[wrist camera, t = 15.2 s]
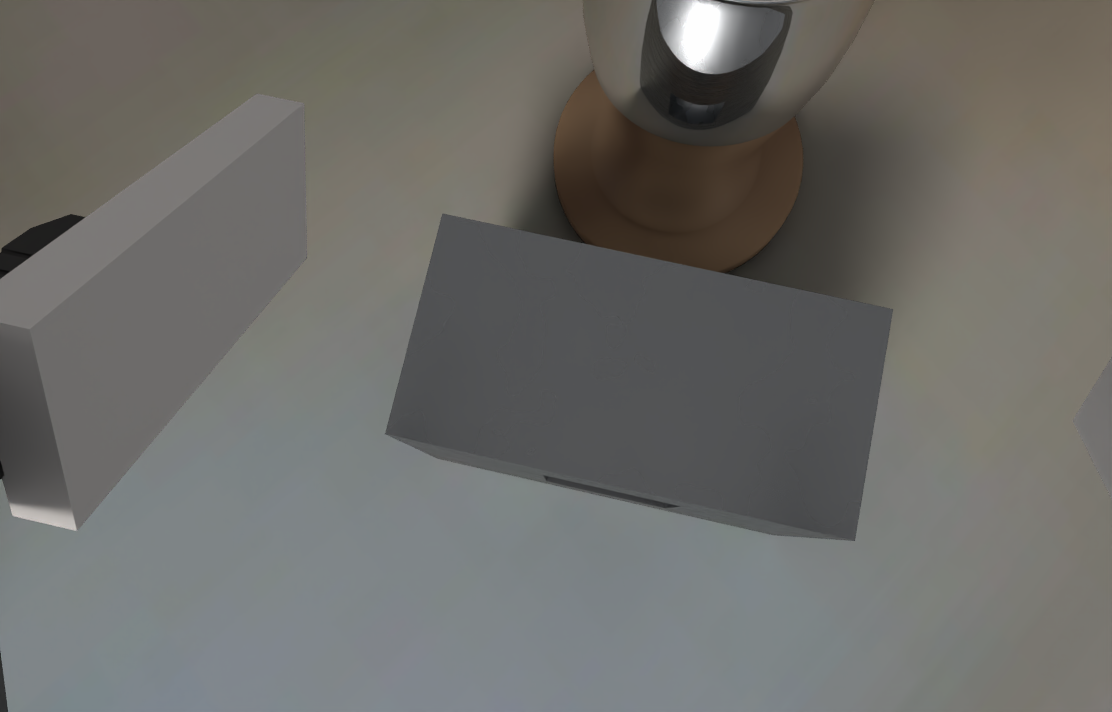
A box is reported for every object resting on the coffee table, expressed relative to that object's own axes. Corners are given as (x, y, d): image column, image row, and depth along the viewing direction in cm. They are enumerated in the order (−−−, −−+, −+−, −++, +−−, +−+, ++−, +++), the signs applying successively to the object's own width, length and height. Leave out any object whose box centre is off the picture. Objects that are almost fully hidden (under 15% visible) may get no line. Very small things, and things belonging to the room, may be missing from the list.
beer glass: (710, 282, 32) (832, 73, 17) (542, 185, 32) (518, -96, 18) (806, 123, 33) (1000, -205, 18) (640, 32, 33) (695, -354, 19)
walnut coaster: (508, 131, 34) (506, 119, 33) (707, 12, 35) (711, -3, 34) (639, 328, 32) (641, 322, 31) (844, 200, 33) (853, 190, 32)
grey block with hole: (774, 535, 31) (854, 540, 22) (437, 458, 32) (385, 433, 23) (804, 367, 32) (893, 309, 23) (477, 296, 33) (442, 213, 24)
